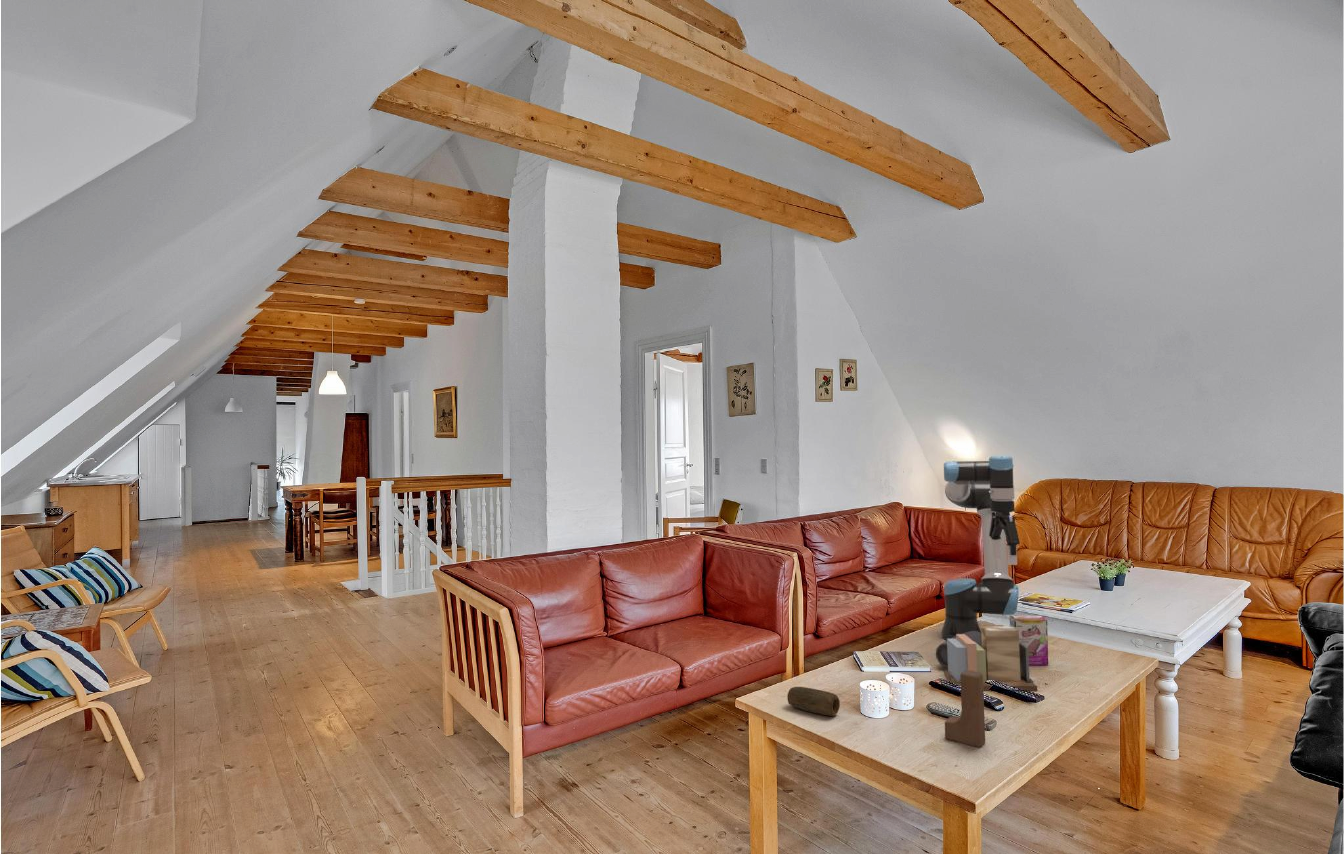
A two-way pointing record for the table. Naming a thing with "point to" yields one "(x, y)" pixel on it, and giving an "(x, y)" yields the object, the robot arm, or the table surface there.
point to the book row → (965, 656)
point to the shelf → (1016, 684)
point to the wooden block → (969, 712)
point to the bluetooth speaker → (942, 648)
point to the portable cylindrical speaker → (814, 700)
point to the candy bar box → (1032, 637)
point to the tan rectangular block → (1001, 653)
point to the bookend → (1024, 663)
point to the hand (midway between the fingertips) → (1004, 561)
